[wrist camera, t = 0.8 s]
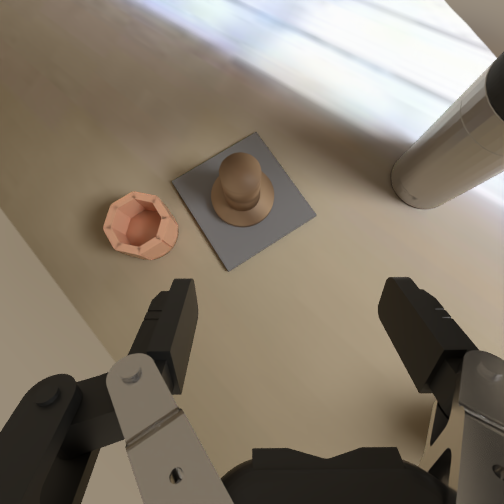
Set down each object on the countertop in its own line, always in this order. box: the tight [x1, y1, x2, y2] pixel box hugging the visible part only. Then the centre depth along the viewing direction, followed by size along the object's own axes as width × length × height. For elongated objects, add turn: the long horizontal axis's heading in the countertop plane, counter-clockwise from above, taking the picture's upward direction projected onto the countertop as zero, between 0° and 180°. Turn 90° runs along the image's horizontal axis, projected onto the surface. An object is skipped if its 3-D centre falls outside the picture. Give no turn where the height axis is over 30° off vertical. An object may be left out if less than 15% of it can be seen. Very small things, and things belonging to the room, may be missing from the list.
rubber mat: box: [172, 132, 316, 271], centre depth 40 cm, size 15×16×1 cm
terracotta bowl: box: [103, 191, 178, 260], centre depth 37 cm, size 8×8×5 cm
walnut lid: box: [211, 152, 274, 227], centre depth 36 cm, size 9×9×8 cm
